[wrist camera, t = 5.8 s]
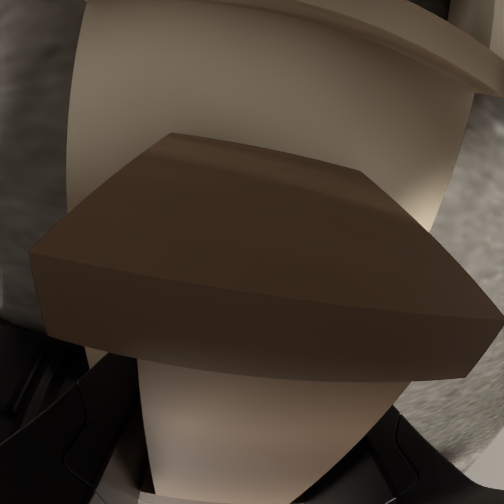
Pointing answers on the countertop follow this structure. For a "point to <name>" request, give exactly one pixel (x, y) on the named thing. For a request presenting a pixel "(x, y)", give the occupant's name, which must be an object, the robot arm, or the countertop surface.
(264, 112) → the wooden divided tray
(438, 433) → the countertop surface
